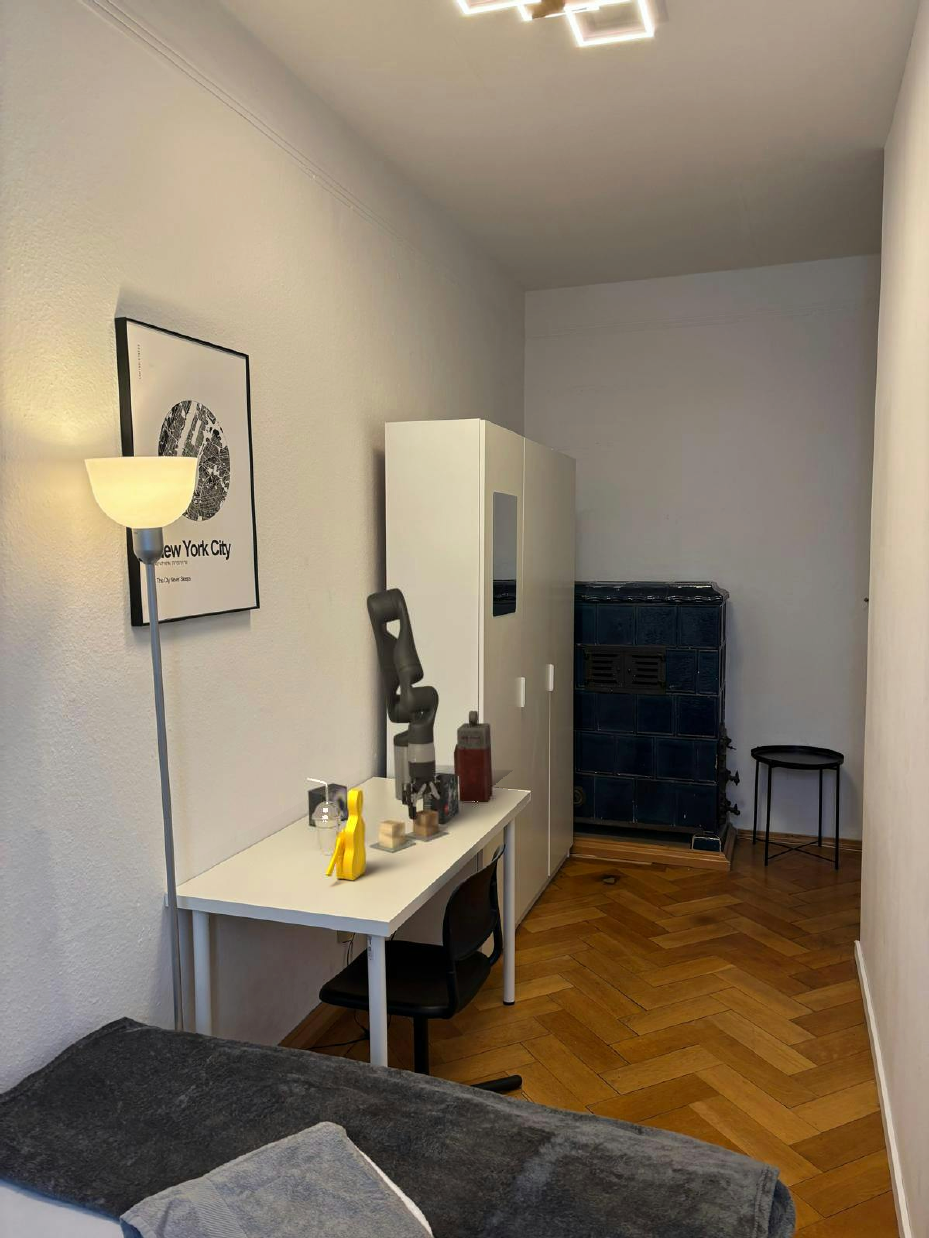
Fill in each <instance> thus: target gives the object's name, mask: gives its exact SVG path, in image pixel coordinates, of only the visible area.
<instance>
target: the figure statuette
mask: <svg viewBox="0 0 929 1238" xmlns="http://www.w3.org/2000/svg"><path fill="white" fill-rule="evenodd" d="M363 805H364V794H363V790H362V789H359V788H351V789H350V790H349V791H348V793H347V806H348V820H347V822H346V825H345V828H344V829H342V830H341V831H339V833H338V835H337V836H336V837H337V840H336V843H335V850H334V853H333V855H331V858H330V861H329V864H328V866H327V869H326V871H325V876H327V877H333V874H334V870H335V869H336V874H335V875H336V878H337V879H342V880H343V879H344V880H349V881H355V880H356V879H358V878H359V877H360V876H362V875H363V874H364V873H365V871H366V862H367V861H366V860H367V854H366V853H367V852H366V846H365V836H366V824H365V821H364V819H363V816H362V811H363Z"/></svg>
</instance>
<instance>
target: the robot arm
mask: <svg viewBox="0 0 929 1238" xmlns="http://www.w3.org/2000/svg"><path fill="white" fill-rule="evenodd" d="M366 609H367V613H368V616H369V621H370V625H371V628H372V631H373V635H374V640H375V641H374V642H375V645H376V653H377V658H378V663H379V669H380V672H381V677H382V681H383V688H384V695H385V704H386V705H385V706H386V711H387V717H388V719H389V721H390V722H391V723H393V724H408V725H407V726H408V727H407V729H406V730H404V731H401V732H399V733H396V734H394V736H393V739H392V741H393V743H392V744H393V759H394V760H393V763H394V764H393V765H394V785H395V786H394V787H395V791H394V792H395V798H396V799H398V800H401V804H402V805H404V806H407V810H408V811H407V812H408V813H407V814H408V818H409V819H410V820H412V821H413V820H416V819H417V812H418V811H417V810H418V809H417V803H418V801H419V800H420V799H423V795H425V794H429V795H430V797H431V798H432V799H430V800H431V811H436V812H438V809H439V798H440V796H443V795H444V787H443V776H442V775H438V774H437V773H436V772H437V770H436V769H437V768H436V767H437V766H436V765H437V764H436V763H437V762H436V747H435V742H434V741H435V737H434V735H435V734H434V727H435V723H436V722H435V721H436V716H437V712H438V707H439V703H440V696H439V693H438V691H437V689H436V688H435V687H434V686H432V685H423V686H415V687H413V685H414V684H418V683H419V682H421V681H422V680H423V679H424V676H425V673H424V669H423V667H422V663H421V659H420V658H419V654H418V652H417V647H416V644H415V637H414V632H413V629H412V623H411V619H410V615H409V610H408V605H407V601H406V599H405V596H404V594H403V592H402V590H401V589H399V588H398V587H395V588H389V589H386V590H383V591H382V590H381V591H377V592H374V593H371V594H369V595H368V596H367V597H366ZM394 621H399V632H398V636H397V637H396V636H395V635H394V634H392V633H391V632H390V631H389V630H388V629H387V628H386V627H385V626H384V624H387V623H391V622H394ZM398 689H400V692H399V693H400V694H399V693H397V692H398ZM439 789H440V791H439Z"/></svg>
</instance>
